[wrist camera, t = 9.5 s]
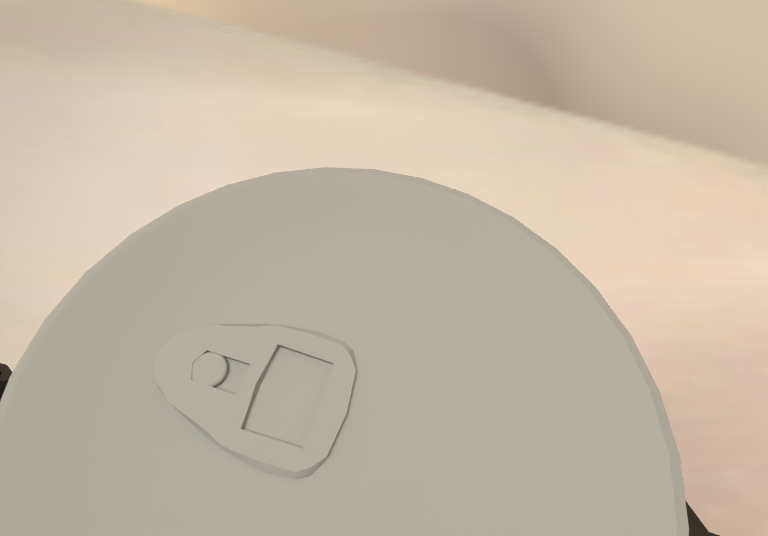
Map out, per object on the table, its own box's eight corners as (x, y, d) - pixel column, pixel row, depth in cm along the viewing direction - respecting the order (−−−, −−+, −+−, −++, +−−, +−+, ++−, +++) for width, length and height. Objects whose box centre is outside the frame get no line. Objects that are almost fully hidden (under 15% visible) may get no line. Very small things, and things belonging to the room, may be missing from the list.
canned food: (253, 358, 16) (98, 148, 7) (464, 365, 17) (609, 173, 7) (210, 616, 13) (-270, 969, 3) (482, 620, 13) (840, 961, 3)
